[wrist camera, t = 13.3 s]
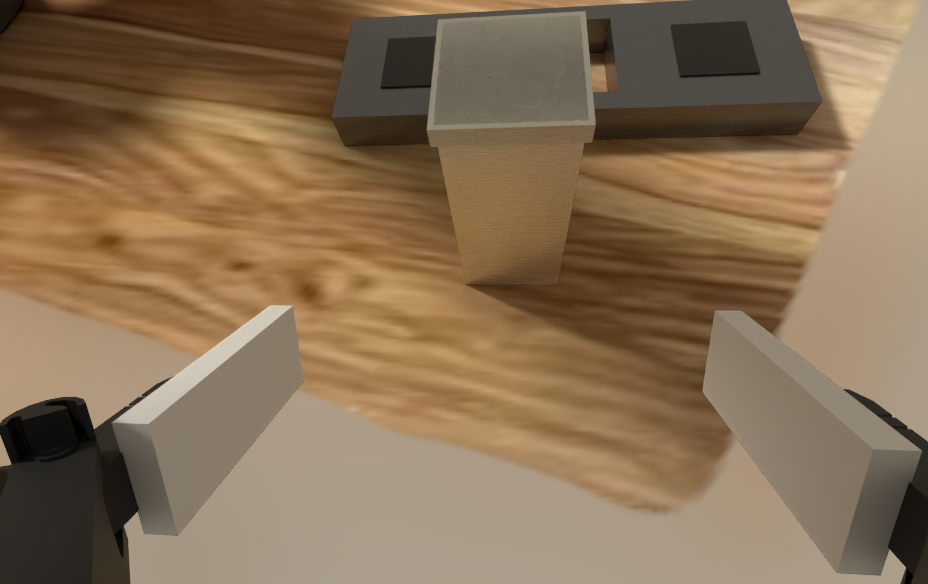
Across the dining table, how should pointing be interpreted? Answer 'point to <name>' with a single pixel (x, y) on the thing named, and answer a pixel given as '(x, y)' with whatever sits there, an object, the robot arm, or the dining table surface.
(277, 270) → the dining table surface
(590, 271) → the dining table surface
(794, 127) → the grey board with recesses
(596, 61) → the dining table surface
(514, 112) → the grey rectangular block
